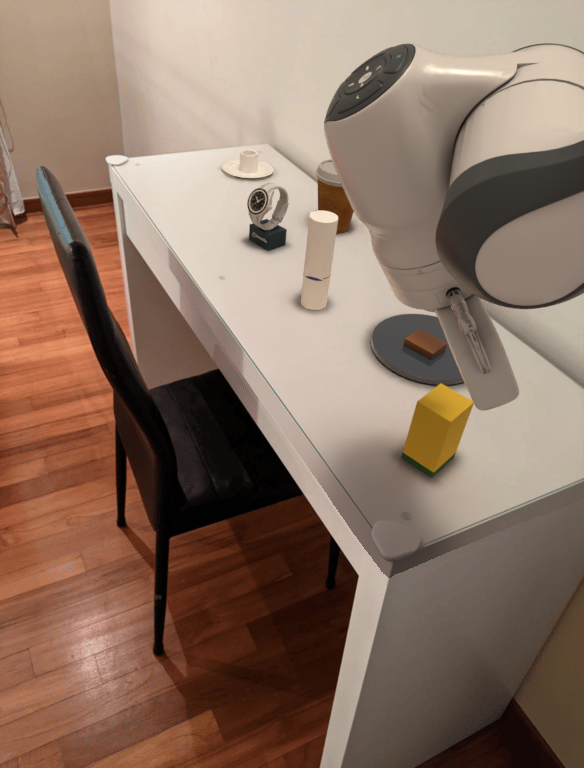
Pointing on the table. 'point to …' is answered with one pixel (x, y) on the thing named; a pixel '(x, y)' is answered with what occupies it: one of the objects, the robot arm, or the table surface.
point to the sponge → (436, 429)
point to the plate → (408, 361)
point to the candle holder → (247, 166)
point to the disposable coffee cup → (333, 195)
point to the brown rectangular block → (425, 344)
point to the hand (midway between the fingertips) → (479, 362)
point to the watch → (267, 230)
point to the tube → (318, 259)
